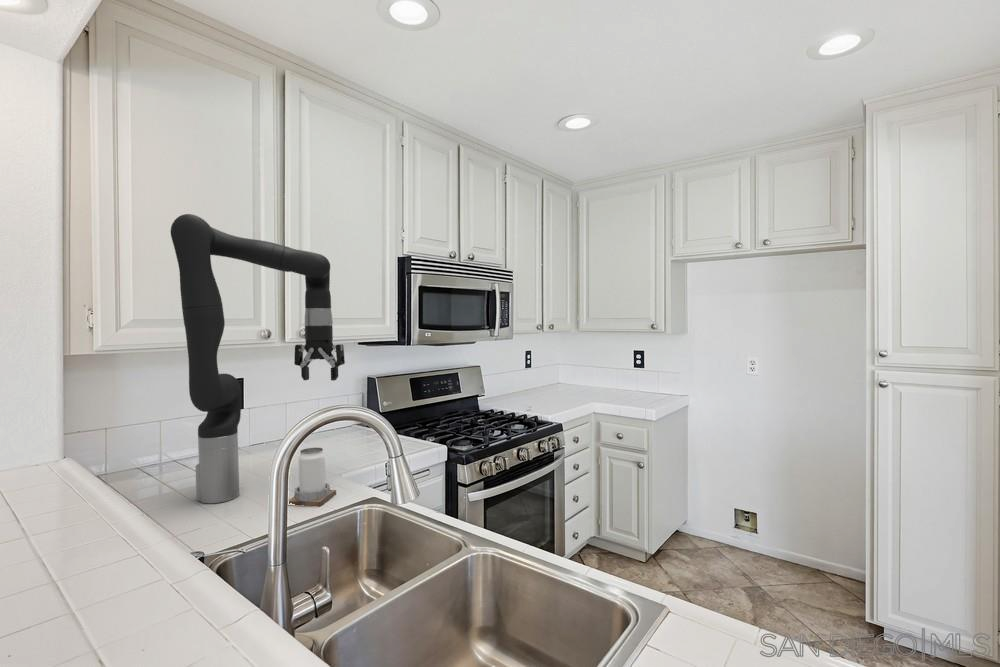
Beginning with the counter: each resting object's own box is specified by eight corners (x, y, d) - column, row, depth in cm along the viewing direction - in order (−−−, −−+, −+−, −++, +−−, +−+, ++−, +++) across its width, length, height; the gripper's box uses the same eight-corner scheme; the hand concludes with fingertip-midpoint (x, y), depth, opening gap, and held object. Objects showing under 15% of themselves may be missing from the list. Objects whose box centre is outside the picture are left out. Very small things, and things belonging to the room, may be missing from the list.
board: (287, 505, 125) (287, 500, 125) (305, 493, 134) (305, 488, 134) (319, 506, 124) (319, 502, 124) (336, 494, 133) (335, 489, 133)
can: (316, 500, 125) (315, 454, 125) (294, 498, 126) (293, 452, 126) (330, 491, 131) (329, 447, 131) (309, 490, 133) (308, 446, 132)
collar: (288, 500, 125) (288, 493, 125) (305, 489, 134) (305, 481, 134) (319, 501, 124) (319, 494, 124) (335, 490, 133) (335, 482, 132)
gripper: (288, 324, 138) (289, 381, 139) (335, 324, 136) (337, 382, 137) (302, 324, 146) (303, 378, 146) (347, 323, 144) (349, 378, 144)
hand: (320, 380), depth 141 cm, fingers open, 8 cm apart
